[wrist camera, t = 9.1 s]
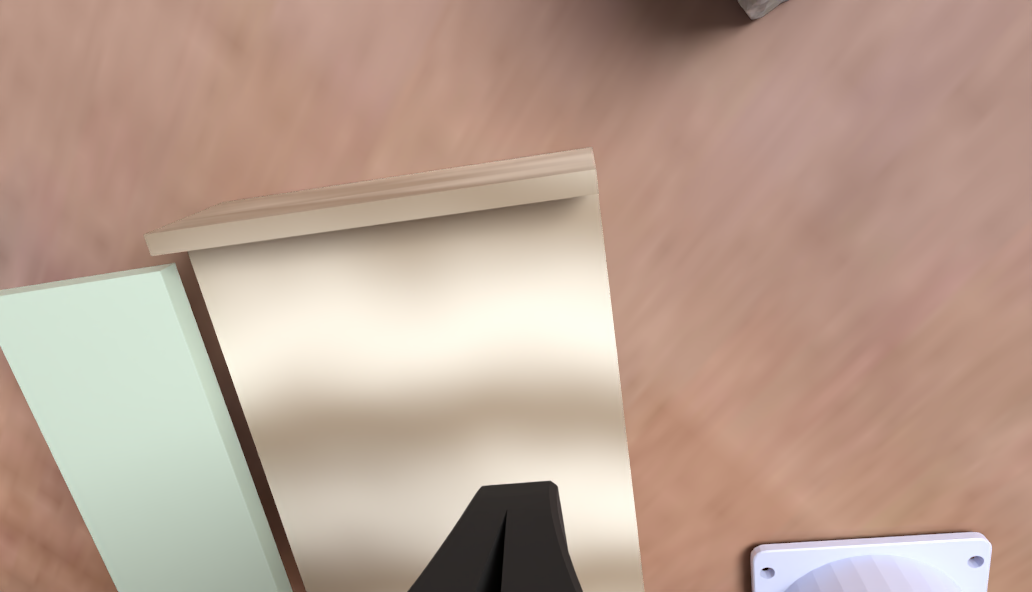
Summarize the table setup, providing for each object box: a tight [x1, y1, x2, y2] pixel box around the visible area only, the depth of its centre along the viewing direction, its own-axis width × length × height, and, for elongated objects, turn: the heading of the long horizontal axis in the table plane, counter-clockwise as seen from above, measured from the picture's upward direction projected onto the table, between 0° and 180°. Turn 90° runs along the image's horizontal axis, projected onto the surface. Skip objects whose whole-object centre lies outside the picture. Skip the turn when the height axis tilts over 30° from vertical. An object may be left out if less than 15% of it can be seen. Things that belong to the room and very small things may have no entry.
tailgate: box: [0, 263, 293, 592], centre depth 21 cm, size 14×1×6 cm
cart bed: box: [144, 147, 644, 592], centre depth 20 cm, size 16×12×4 cm
